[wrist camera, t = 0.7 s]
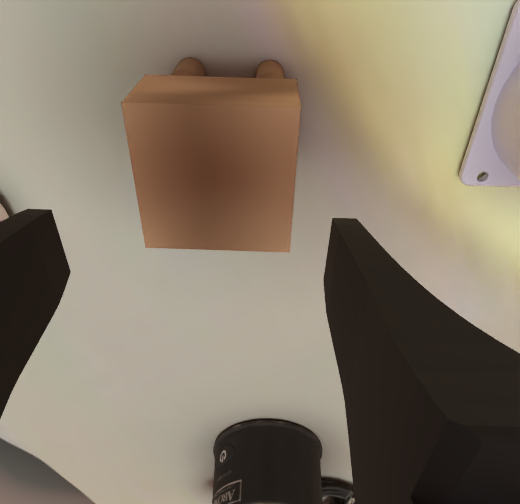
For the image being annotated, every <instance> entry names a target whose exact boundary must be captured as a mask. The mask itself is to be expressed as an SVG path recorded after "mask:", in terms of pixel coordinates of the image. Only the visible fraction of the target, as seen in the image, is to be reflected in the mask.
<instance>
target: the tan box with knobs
mask: <svg viewBox="0 0 520 504" xmlns="http://www.w3.org/2000/svg"><path fill="white" fill-rule="evenodd" d="M121 104H122V110H123V116H124V122H125V128H126V134H127V140H128V146H129V152H130V157H131V163H132V169H133V175H134V181H135V187H136V193H137V199H138V205H139V211H140V217H141V223H142V229H143V235H144V241H145V247H146V248H174V249H205V250H235V251H265V252H290V240H291V227H292V215H293V202H294V189H295V177H296V164H297V152H298V139H299V127H300V114H301V105H300V99H299V92H298V86H297V79H284V71H283V68H282V66H281V65H280V64H279V63H278V62H277V61H274V60H266V61H264V62H262V63H261V64H260V65H259V66H258V68H257V71H256V78H239V77H207V76H205V69H204V66H203V65H202V63H201V62H200V61H199V60H197V59H195V58H192V57H188V58H185V59H183V60H182V61H181V62H180V63H179V64H178V66H177V67H176V69H175V70H174V72H173V73H172V74H171V75H145V76H144V77H143V78H142V79H141V81H140V82H139V83H138V84H137V85H136V86H135V87H134V89H133V90H132V91H131V92H130V93H129V94H128V95H127V97H126V98H125V99H124V100H123V101H122V102H121Z"/></svg>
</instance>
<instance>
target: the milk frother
mask: <svg viewBox="0 0 520 504" xmlns="http://www.w3.org/2000/svg"><path fill="white" fill-rule="evenodd" d="M213 452H214V457H215V470H214V486H213V500H212V504H323V501H322V497H324V496H331V497H332V499H331V501H330V502H329V504H355V501H354V489H352V488H351V487H349V486H347V485H345V484H342V483H339V482H334V481H322V482H321V469H320V459H321V457H322V446H321V443H320V441H319V440H318V439H317V437H316V436H314V434H313V433H311V432H309V431H308V430H307V429H305V428H303V427H301V426H298V425H296V424H293V423H288V422H284V421H275V420H258V421H251V422H249V421H248V422H245V423H241V424H237V425H235V426H233V427H231V428H230V429H228V430H226V431H225V432H223V433H222V434H221V435H220V436H219V437H218V438H217V440H216V442H215V445H214V451H213Z"/></svg>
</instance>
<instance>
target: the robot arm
mask: <svg viewBox="0 0 520 504" xmlns="http://www.w3.org/2000/svg"><path fill="white" fill-rule="evenodd" d="M481 172H485V174H484V176H482V177H481V178H477V176H478V174H480V173H481ZM459 178H460V180H461V182H462V183H464V184H465V185H472V186H503V187H520V0H518V1H517V2H516V3H515V5H514V7H513V10H512V13H511V16H510V19H509V22H508V25H507V29H506V32H505V35H504V38H503V41H502V44H501V47H500V50H499V53H498V56H497V59H496V62H495V65H494V68H493V71H492V74H491V77H490V80H489V83H488V86H487V90H486V93H485V96H484V99H483V102H482V105H481V108H480V111H479V114H478V117H477V120H476V123H475V126H474V129H473V132H472V135H471V138H470V141H469V144H468V147H467V151H466V154H465V157H464V160H463V163H462V166H461V169H460V172H459ZM69 275H70V269H69V265H68V262H67V259H66V256H65V252H64V249H63V246H62V243H61V239H60V236H59V233H58V230H57V226H56V223H55V220H54V217H53V214H52V210H42V209H27V210H24V211H22V212H19V213H17V214H15V215H13V216H11V217H9V218H7V219H5V220H3V221H1V222H0V418H1V416H2V413H3V411H4V409H5V406H6V404H7V401H8V399H9V397H10V394H11V392H12V390H13V388H14V386H15V384H16V382H17V380H18V378H19V376H20V374H21V372H22V371H23V369H24V367H25V365H26V363H27V362H28V360H29V358H30V356H31V354H32V353H33V351H34V349H35V347H36V345H37V344H38V342H39V340H40V338H41V336H42V335H43V333H44V331H45V329H46V327H47V326H48V324H49V322H50V320H51V318H52V316H53V315H54V313H55V311H56V309H57V307H58V305H59V303H60V300H61V298H62V295H63V292H64V290H65V287H66V284H67V281H68V278H69ZM324 291H325V303H326V313H327V318H328V323H329V328H330V332H331V337H332V342H333V346H334V351H335V355H336V360H337V365H338V369H339V374H340V378H341V383H342V388H343V394H344V400H345V408H346V417H347V426H348V435H349V445H350V456H351V466H352V477H353V488H354V501H355V504H520V353H518V352H516V351H514V350H513V349H511V348H509V347H508V346H506V345H504V344H502V343H501V342H499V341H498V340H496V339H494V338H493V337H491V336H490V335H488V334H487V333H485V332H483V331H482V330H480V329H479V328H477V327H476V326H474V325H473V324H471V323H470V322H468V321H467V320H465V319H464V318H462V317H461V316H460V315H458V314H457V313H456V312H454V311H453V310H452V309H450V308H449V307H448V306H446V305H445V304H444V303H442V302H441V301H440V300H438V299H437V298H436V297H435V296H433V295H432V294H431V293H430V292H429V291H427V290H426V289H425V288H424V287H423V286H422V285H421V284H419V283H418V282H417V281H416V280H415V279H414V278H413V277H412V276H411V275H409V274H408V273H407V272H406V271H405V270H404V269H403V268H402V267H401V266H400V265H399V264H398V263H397V262H396V261H395V260H394V259H393V258H392V257H391V256H390V255H389V254H388V253H387V252H386V251H385V250H384V249H383V247H382V246H381V245H380V244H379V243H378V242H377V241H376V240H375V239H374V238H373V236H372V235H371V234H370V233H369V232H368V231H367V230H366V229H365V228H364V226H363V225H362V224H361V223H360V222H359V221H358V220H357V219H348V218H333V219H332V226H331V232H330V239H329V246H328V253H327V260H326V267H325V274H324Z"/></svg>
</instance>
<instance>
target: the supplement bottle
mask: <svg viewBox="0 0 520 504" xmlns="http://www.w3.org/2000/svg"><path fill="white" fill-rule="evenodd" d="M7 218H9V216H8V214H7V212H6V211H5V209H4V208H3V206H2V205H1V203H0V222H1V221H3V220H5V219H7Z"/></svg>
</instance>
